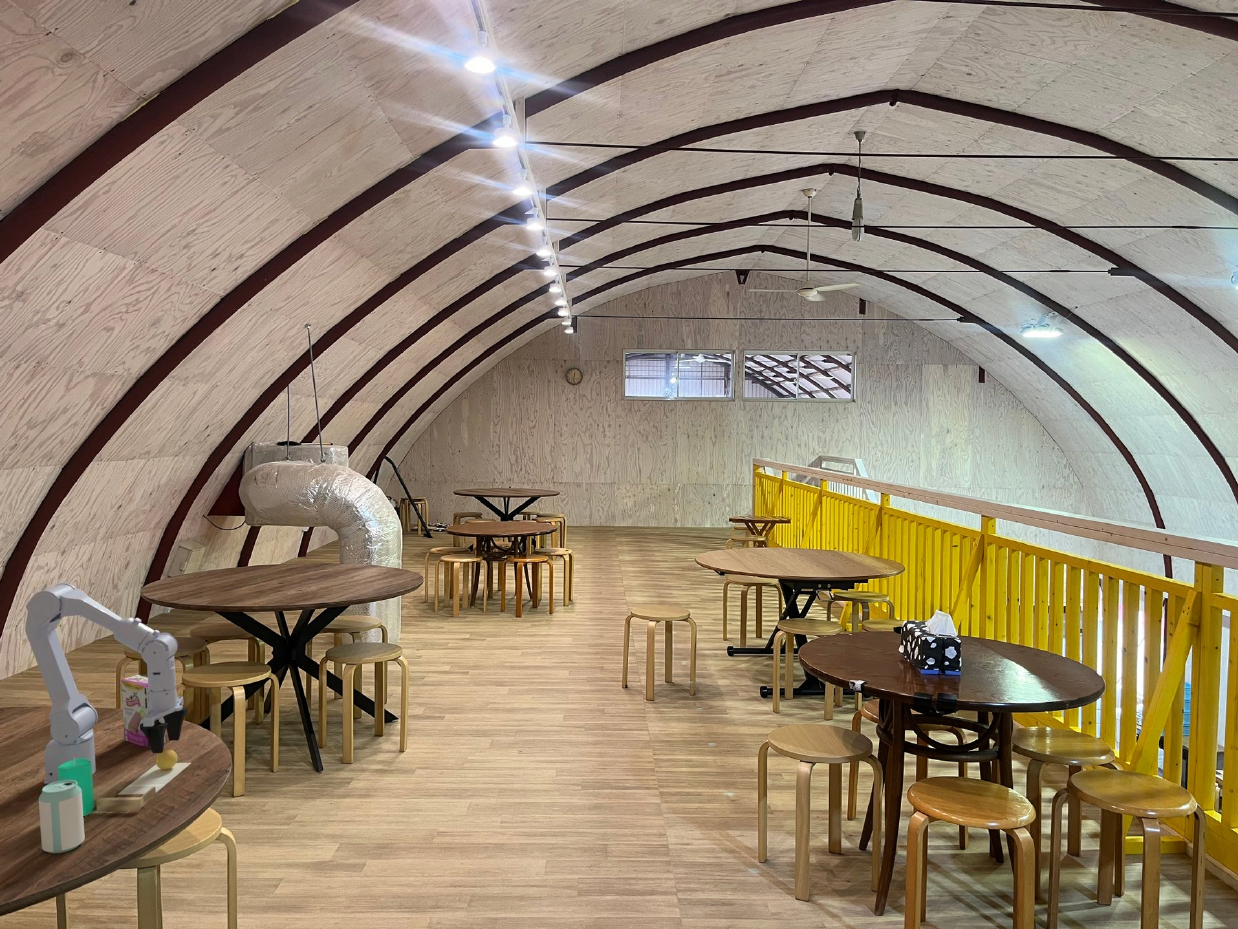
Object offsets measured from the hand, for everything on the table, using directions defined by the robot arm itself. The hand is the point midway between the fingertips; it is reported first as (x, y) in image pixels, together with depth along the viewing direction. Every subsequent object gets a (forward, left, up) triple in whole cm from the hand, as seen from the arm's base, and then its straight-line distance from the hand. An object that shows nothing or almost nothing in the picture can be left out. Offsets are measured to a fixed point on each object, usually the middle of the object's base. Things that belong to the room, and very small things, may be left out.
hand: (166, 746), depth 213 cm
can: (-3, -35, -6) cm, 36 cm away
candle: (-9, -21, -6) cm, 23 cm away
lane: (0, -8, -6) cm, 10 cm away
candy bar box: (-15, +18, -6) cm, 24 cm away
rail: (0, -17, -6) cm, 18 cm away
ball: (0, 0, -5) cm, 5 cm away
